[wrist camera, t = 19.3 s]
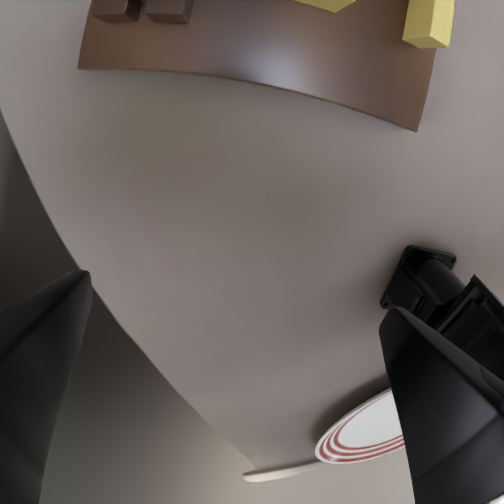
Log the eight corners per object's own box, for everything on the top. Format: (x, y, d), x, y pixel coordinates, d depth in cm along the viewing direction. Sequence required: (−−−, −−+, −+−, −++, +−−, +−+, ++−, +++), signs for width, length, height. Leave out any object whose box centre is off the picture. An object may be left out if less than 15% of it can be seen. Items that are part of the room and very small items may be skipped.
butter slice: (428, -3, 12) (456, -10, 9) (419, 49, 14) (448, 47, 11) (410, -13, 12) (437, -22, 9) (401, 39, 14) (429, 35, 11)
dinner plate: (478, 319, 30) (491, 336, 27) (460, 403, 43) (466, 415, 41) (284, 410, 35) (288, 432, 32) (333, 460, 48) (336, 474, 45)
